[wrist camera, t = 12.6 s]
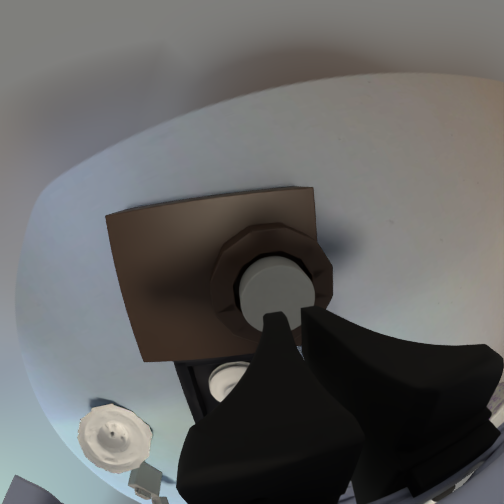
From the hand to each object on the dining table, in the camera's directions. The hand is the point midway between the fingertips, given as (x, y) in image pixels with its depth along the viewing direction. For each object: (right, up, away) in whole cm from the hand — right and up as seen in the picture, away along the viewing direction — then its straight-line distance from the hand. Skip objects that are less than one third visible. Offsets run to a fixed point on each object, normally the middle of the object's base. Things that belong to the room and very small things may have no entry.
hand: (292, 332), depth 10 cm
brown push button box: (-4, +2, +10) cm, 11 cm away
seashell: (-16, -15, +13) cm, 26 cm away
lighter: (-15, -27, +16) cm, 35 cm away
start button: (0, +1, +4) cm, 5 cm away
